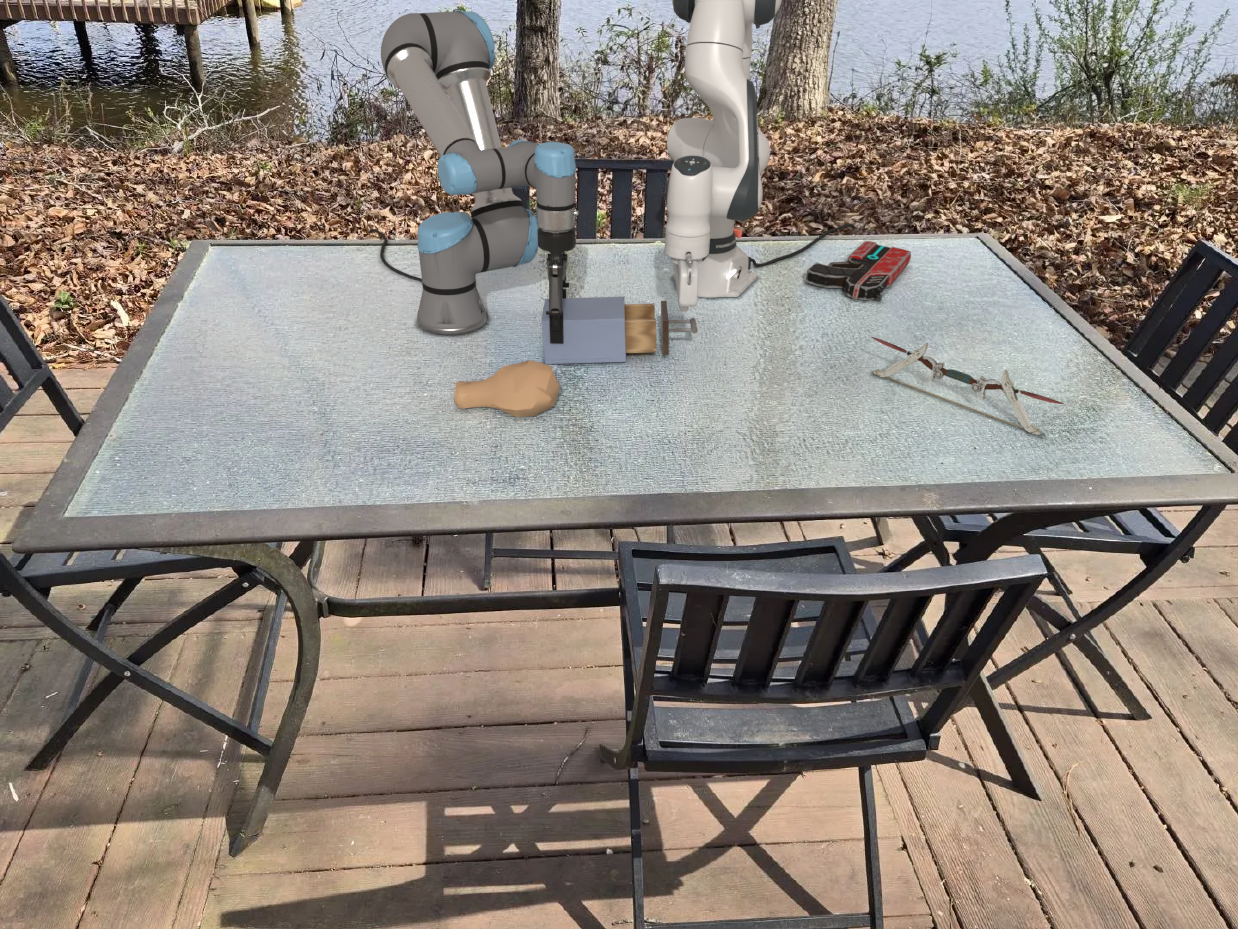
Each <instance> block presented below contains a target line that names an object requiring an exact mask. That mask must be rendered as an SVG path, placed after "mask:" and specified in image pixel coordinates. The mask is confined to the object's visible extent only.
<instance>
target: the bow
mask: <svg viewBox="0 0 1238 929" xmlns="http://www.w3.org/2000/svg"><path fill="white" fill-rule="evenodd" d="M870 338H871V339H873V340H875V341H877V342H878V343H880V344H882V345H884V346H886V347H888V348H891V349H893V350H895V351H898V352H901V353H903V354H904V353H905V354H906V355H907V357H906V358H904V359H903V358H902V359H901V360H898V361H897V362H895V363H893V364H892V365H890V366H889V367H887V369H880V368H879V369H875V370H873V372H872V373H873V374H874V375H876V376H877V377H880V378H886V379H889V380H892V381H894V382H897V383H900V384H902V385H905V386H907V387H909V388H910V387H911V388H913V389H916V390H919V391H921V392H924V393H926V394H929V395H931V396H935V397H936V398H940V399H942V400H945V401H947V402H948V401H949V402H951V403H952V404H953V403H954V404H956V405H958V406H962V407H964V408H967V409H969V410H972V411H975V412H978V413H980V414H982V415H985V416H988V417H991V418H994V419H996V420H998V421H1001V422H1004V423H1007V424H1009V425H1012V426H1015V427H1017V428H1020V429H1023V430H1025V431H1027V432H1028V433H1030V434H1032V435H1036V436H1039V435H1041V434H1042V433H1043V430H1042V429H1040V428H1039V427H1037V426H1036V425H1034V424H1033V423H1032V422H1031V420H1030V416H1029V413H1028V412H1027V410H1026V408H1025V406H1024V405H1023V403H1022V402H1021V400H1020V399H1019V398H1018V395H1017V394H1019V393H1020V394H1021V395H1024V396H1026V397H1029V398H1033V399H1035V400H1038V401H1044V402H1047V403H1051V404H1057V405H1065V403H1064V402H1061V401H1059V400H1056V399H1053V398H1051V397H1047V396H1044V395H1041V394H1038V393H1034V392H1030V391H1026V390H1022V389H1021V390H1020V389H1018V388H1015V386H1014V382H1013V381H1012V379H1011V377H1010V375H1009V370H1008V369H1005V370H1003V371H1002V374H1001V378H1000V381H999V380H997V379H995V378H989V379H987V378H986V377H985V376H984V375H981V376H980V377H979V378H978V379H975V378H974V377H973V376H972V375H970V374H968V373H965V372H963V371H959V370H956V369H950V368H949V369H946V368H945V365H946V364H945V362H944V361H943V362H937V360H935V359H934V358H933V357H931V356H927V355H926V356H924V355H925V354H926V353H927V350H928V346H929V342H925V343H924V344H923V345H922V346H921V347H920V348H917V349H915V350H913V351H912V352H911V351H907V350H906V349H905V348H903V347H902V346H901V347H900V346H898V345H896V344H893V343H892V342H888V341H886V340H883V339H880V338H877V337H874V336H870ZM918 362H920V363H922V364H923V365H924V366H925V367H926V368H927V369H929V370H931V373H930V375H929V376H928V379H927V382H929V383H932V382H933V381H935V378H936V379H938V380H941V379H943V378H944V377H947V378H949V379H953V380H956V381H959V382H961V383H964V384H967V385H970V386H971V387H970V389H971V391H972V392H974V393H979V394H978V400H980V401H984V400H986V395H987V393H986V390H989V391H993V390H994V391H995V390H999V391H1000V390H1001V391H1002V392H1003V394H1004V395H1005V397H1006V399H1007V401H1008V402H1009V404H1010V406H1011V408H1012V410H1013V413H1014V414H1015V415H1016V418H1017V420H1018V422H1019V424H1020V425H1021V426H1020V425H1018V424H1015V423H1012V422H1009V421H1007V420H1004V419H1002V418H1000V417H996V416H994V415H991V414H988V413H985V412H982V411H980V410H977V409H974V408H971V407H969V406H966V405H964V404H960V403H958V402H955V401H953V400H950V399H948V398H945V397H942V396H939V395H937V394H934V393H931V392H929V391H926V390H925V389H924V390H923V389H921V388H918V387H915V386H912V385H910V384H908V383H905V382H902V381H899V380H896V379H894V378H891V377H890V376H892V375H896V374H897V373H899V372H901V371H903V370H904V369H906V368H907V367H909V366H912V365H913V364H916V363H918Z"/></svg>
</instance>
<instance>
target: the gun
mask: <svg viewBox="0 0 1238 929" xmlns="http://www.w3.org/2000/svg"><path fill="white" fill-rule="evenodd" d="M911 259H912V251H911V250H908V249H905V248H904V249H903V248H899V247H895V246H892V247H890V246H885V245H881V244H878V243H877V242H875V241H870V240H864V241H863V242H862V243H861V244H860V245H858V246H857V247H856V248H855V249H854V250H853V251H852V252H851V253H850V254H849V256H848V258H847V260H846V261H830V262H829V263H828V264H823V263H820V262H817V261H816V262H815V263H814V264H813V265H810V267H809V268H807V269H806V276H805V282H806V283H808V284H810V285H814V286H816V287H820V288H826V289H844V290H843V293H844V294H845V295H846V296H847V297H850V298H851V299H852V300H862V301H869V300H876V301H878V302H881V300H882V297H883V296H882V293H883V292H884V291H885V290H886V289H888V288H889V287H890V286H892V284H893V283H895V281H896V280H898V278H899V277H900V275H901V274H903V272H904V271H905V269H906V268H907V266H908V265H909V263H910V261H911Z"/></svg>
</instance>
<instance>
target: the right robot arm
mask: <svg viewBox="0 0 1238 929" xmlns="http://www.w3.org/2000/svg"><path fill="white" fill-rule="evenodd" d="M782 1H783V0H671V3H672V6H673V12H674V13H675V14H676V16H677V17H678V18H679V19H680V20H682V21H685V22H686V23H688V24H690V25H689V28H688V34H687V40H686V46H685V47H686V48H685V56H684V76H685V79H686V81H687V83H688V85H689V86H690V88H691V89H692V90H693V91H694V92H695V93H696V94H697V95H698V96H699V98H700V99H701V100H702V101H703V102H704V103H705V104H706V105H707V107H708V108H709V110H710V112H711V114H712V117H713V119H708V118H702V117H683V118H679V119H677V120H676V121H674V123H673V125H671V127H670V128H669V130H668V133H667V137H666V150H667V153H668V155H669V157H670V159H672V161H673V163H672V166H671V170H670V174H669V176H668V177H667V180H666V186H665V205H666V211H667V221H666V224H665V235H664V238H665V239H664V253H665V255H667V256H668V257H670V261H671V263H672V267H673V277H672V278H673V280H674V281H675V287H676V295H677V303H678V307H679V312H681V313H688V311H689V308H694V307H697V305H698V299H699V298H707V299H708V298H709V299H711V298H712V299H713V298H723V297H724V298H738V297H740V295H742V293H744V292H745V290H746V289H748V288H749V287H750V286H751V285H752V284H753V283H754V282H755V281H756V279H757V273H756V272H754V271H752V270H751V265H753V267H755V268H760V267H765V266H769V265H772V264H774V263H777V262H779V261H783V260H785V259H789V258H791V257H794V256H796V255H799V254H801V253H803V252H804V251H806V250H807V249H809V248H810V247H812V246H813V245H815V244H816V243H817V242H819V241H820V240H821V239H823V238H824V237H827V235H829V234H831V233H834V232H837V231H839V230H843V229H845V228H852V229H853V230H855V229H857V227H856V226H855V225H854V224H853V223H845V224H842V225H839V226H837V227H833V228H831V229H828V230H827V231H825V232H824V233H822V234H821V235H819V236H817V237H816V238H815V239H813V240H812V241H810V242H809V243H808V244H806V245H804V246H803V247H802V248H800V249H797V250H796V251H793V252H790V253H788V254H785V255H782V256H777V257H776V258H772V259H771V260H768V261H765V262H763V263H757V260H755V258H752V256H748V254H747V253H746V252H745V251H743V250H742V249H741V248H740V247H739V246H738V245H737V239H741V238H742V236H743V230H742V229H738V228H735V221H736V222H741V223H744V222H746V221H748V220H750V219H751V218H752V217H755V215H756V214H758V213H759V212H760V209H761V206H762V204H763V197H764V188H763V182H762V176H761V174H762V173H763V172H764V171H765V170H766V168H767V166H768V164H769V161H770V157H771V147H770V143H769V140H768V138H767V135H765V134H764V133H763V131H762V130H761V129H760V127H759V117H758V116H759V115H758V114H759V113H758V98H757V91H756V87H755V84H754V82H753V81H752V80H750V73H751V62H752V51H753V25H755V29H756V30H758V29H760V28H761V26H763V25H766V24H769V23H770V22H772V21H773V20H774V19H775V18H776V16H777V13H778V11H779V9H780V7H781V4H782ZM818 237H819V238H818ZM698 297H699V298H698Z"/></svg>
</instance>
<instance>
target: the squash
mask: <svg viewBox="0 0 1238 929" xmlns="http://www.w3.org/2000/svg"><path fill="white" fill-rule="evenodd" d="M454 385H455V389H454V394H453V395H454V397H453V403H454V404H455V405H456V406H457V407H458V409H460V410H463V409H470V408H482V407H483V408H485V407H486V408H491V409H498V410H500V411H502V412H504V413H506V414H507V415H510V416H513V417H515V418H525V417H526V418H528V417H529V418H530V417H536V416H539V415H540V414H542V413H545V411H546V412H547V411H548V410H550V409H552V408H554V406H555V404H556V402H557V401H558V397H559V393H560V388H561V386H560V383H559V382H558V379H557V377H556V375H555V373H554V370H553V366H552V365H550V364H545V363H543V362H539V361H535V360H529V359H528V360H524V361H521V362H518V363H512V364H507V365H503V366H502V367H500V368H499V369H497V370H496V371H495V373H494V374H493V375H491V376H489V377H488V378H486V379H482V380H481V379H480V380H473V381H463V380H462V381H461V380H459V381H457V382H455V384H454Z"/></svg>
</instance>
